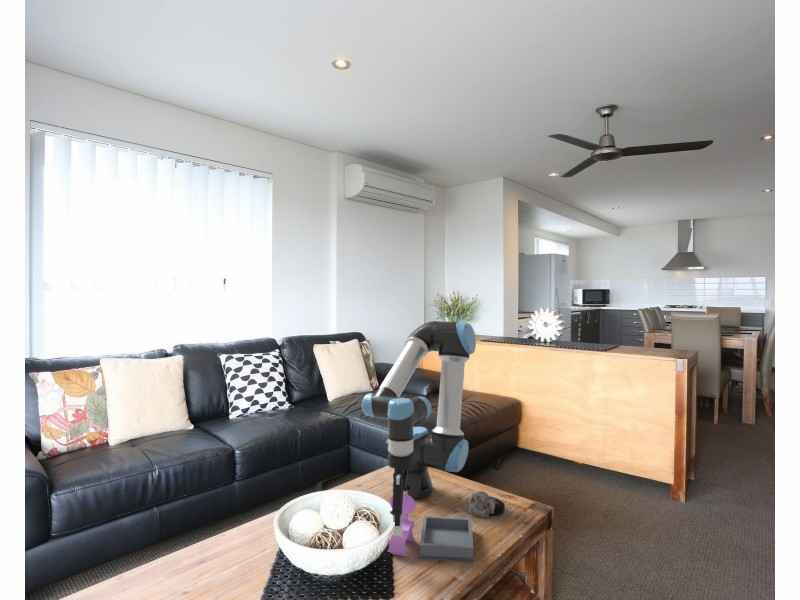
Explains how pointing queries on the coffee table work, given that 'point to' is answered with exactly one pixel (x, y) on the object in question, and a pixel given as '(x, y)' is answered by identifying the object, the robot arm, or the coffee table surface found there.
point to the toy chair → (399, 541)
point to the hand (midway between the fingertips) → (400, 523)
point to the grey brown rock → (485, 505)
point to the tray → (446, 539)
